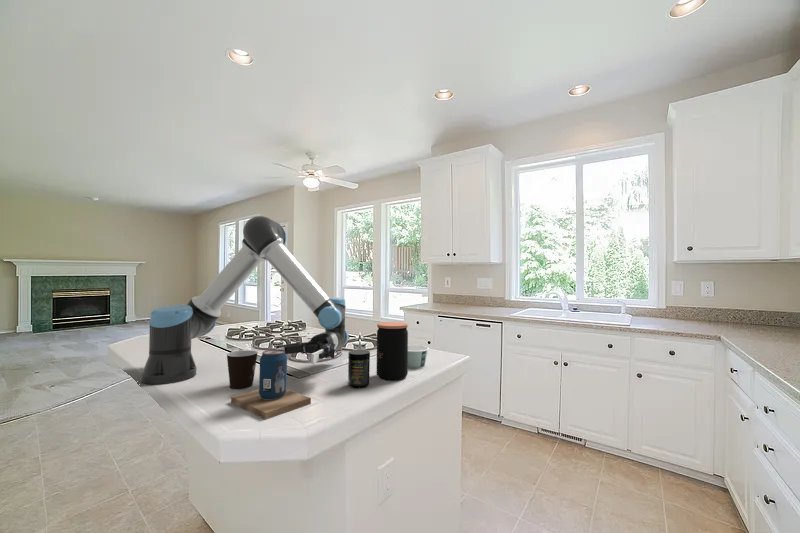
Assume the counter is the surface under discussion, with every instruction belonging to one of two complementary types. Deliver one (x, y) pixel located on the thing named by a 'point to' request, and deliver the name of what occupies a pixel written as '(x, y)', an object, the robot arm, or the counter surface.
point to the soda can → (273, 374)
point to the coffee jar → (392, 350)
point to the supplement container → (358, 368)
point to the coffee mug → (241, 368)
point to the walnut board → (270, 403)
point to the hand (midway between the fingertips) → (291, 357)
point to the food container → (417, 355)
